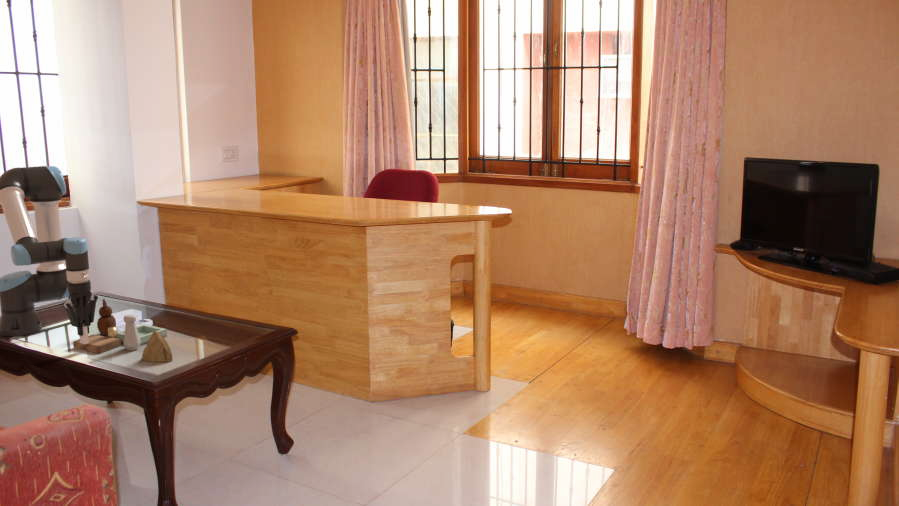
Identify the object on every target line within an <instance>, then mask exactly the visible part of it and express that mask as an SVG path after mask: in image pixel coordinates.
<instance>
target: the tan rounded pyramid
mask: <svg viewBox="0 0 899 506" xmlns="http://www.w3.org/2000/svg"><path fill="white" fill-rule="evenodd" d="M140 359H141V361H146V362H159V363H160V362H161V363H162V362H164V363H165V362H166V363H168V362H171V361H173V352H172V351H171V348H170V345H169V344H168V342H167V340H166V339H165V337H164V338H163V336H162V335H161V334H160V333H159V332H156V331H154V332H153V334H152V335H151V337H150V339H149V341H148V343H147V344H146V345H145V347H144V349H143V352H142V355H141V358H140Z"/></svg>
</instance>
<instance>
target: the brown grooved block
mask: <svg viewBox="0 0 899 506" xmlns="http://www.w3.org/2000/svg"><path fill="white" fill-rule="evenodd" d="M88 340H89V343H88V344H82V343H80V338H78V339H76V340H72V344H73V349H74V348H75V350H79V351H80V350H81V351H85V352H92V353H96V354H104V353H107V352H109V351H112V350H114V349H117V348H119V347H122V342H121V341H120V339H117V338H111V337H108V336H104V335H98V334H91V335H88Z"/></svg>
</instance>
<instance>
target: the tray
mask: <svg viewBox="0 0 899 506" xmlns="http://www.w3.org/2000/svg"><path fill="white" fill-rule="evenodd" d="M136 327H137V331H138V334H139V338H140V341H141V343H140V346H144V345H147V343H148V341H149V339H150V337H151V335H152V334H153V332H154V331H156V332H159V333H160V334H161V335H162V336H163V338H164V339H165V338H167V337H168V331H167V328H162V327H158V326H153V325H149V324H144V323H143V324H140V325H136ZM124 335H125V329H124V330H121V331H117V339H120V341H121V343H124ZM140 346H139V347H140Z"/></svg>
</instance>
